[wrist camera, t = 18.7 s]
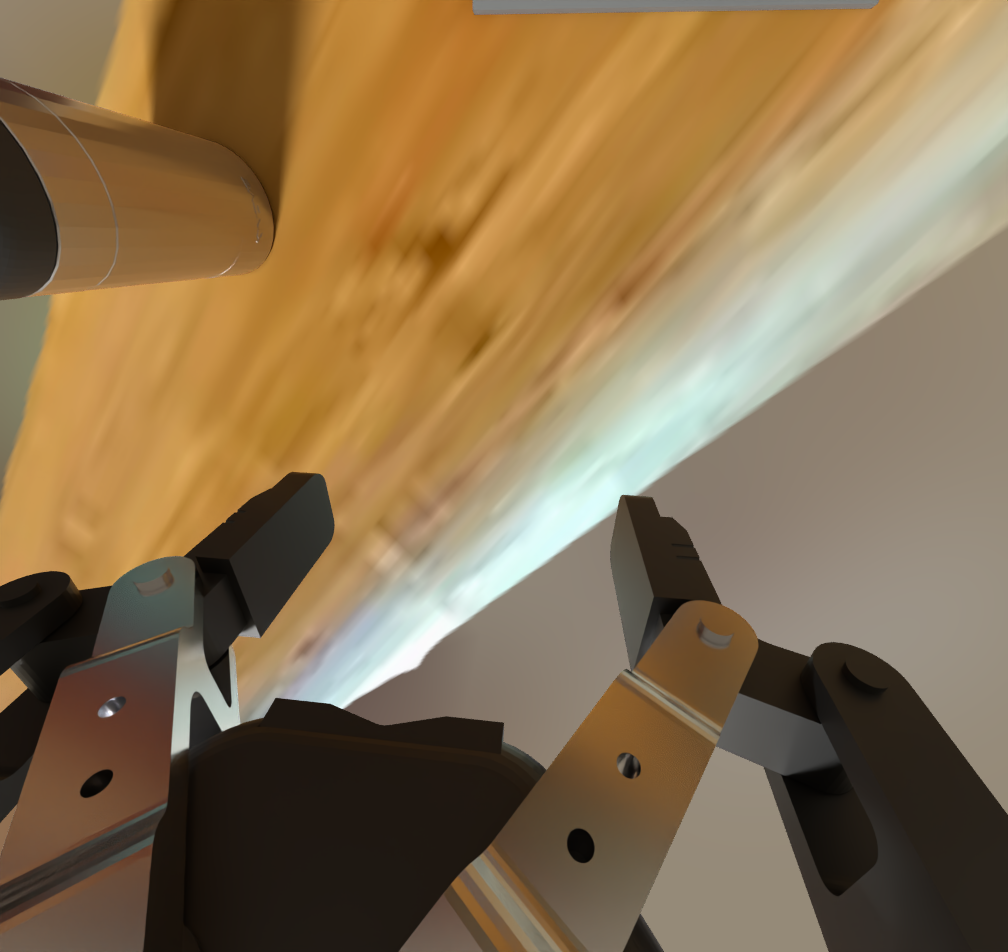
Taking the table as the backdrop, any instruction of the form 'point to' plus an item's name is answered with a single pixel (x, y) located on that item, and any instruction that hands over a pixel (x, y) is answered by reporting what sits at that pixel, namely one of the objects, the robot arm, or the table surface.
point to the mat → (656, 5)
